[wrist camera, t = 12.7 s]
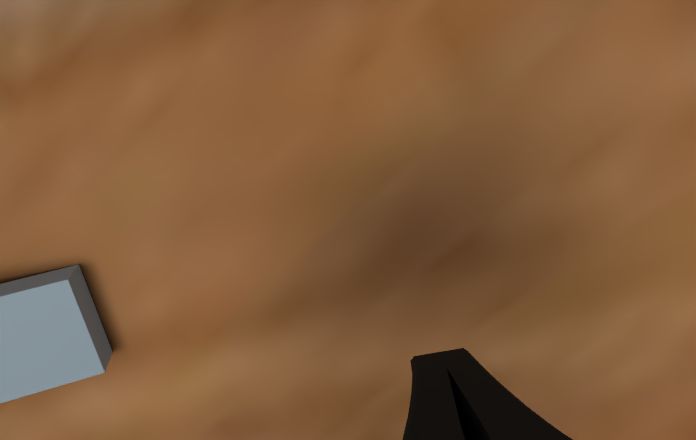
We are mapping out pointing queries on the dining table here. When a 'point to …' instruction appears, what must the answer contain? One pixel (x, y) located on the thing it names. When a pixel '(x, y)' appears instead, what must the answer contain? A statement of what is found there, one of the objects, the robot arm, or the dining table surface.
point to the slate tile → (49, 333)
